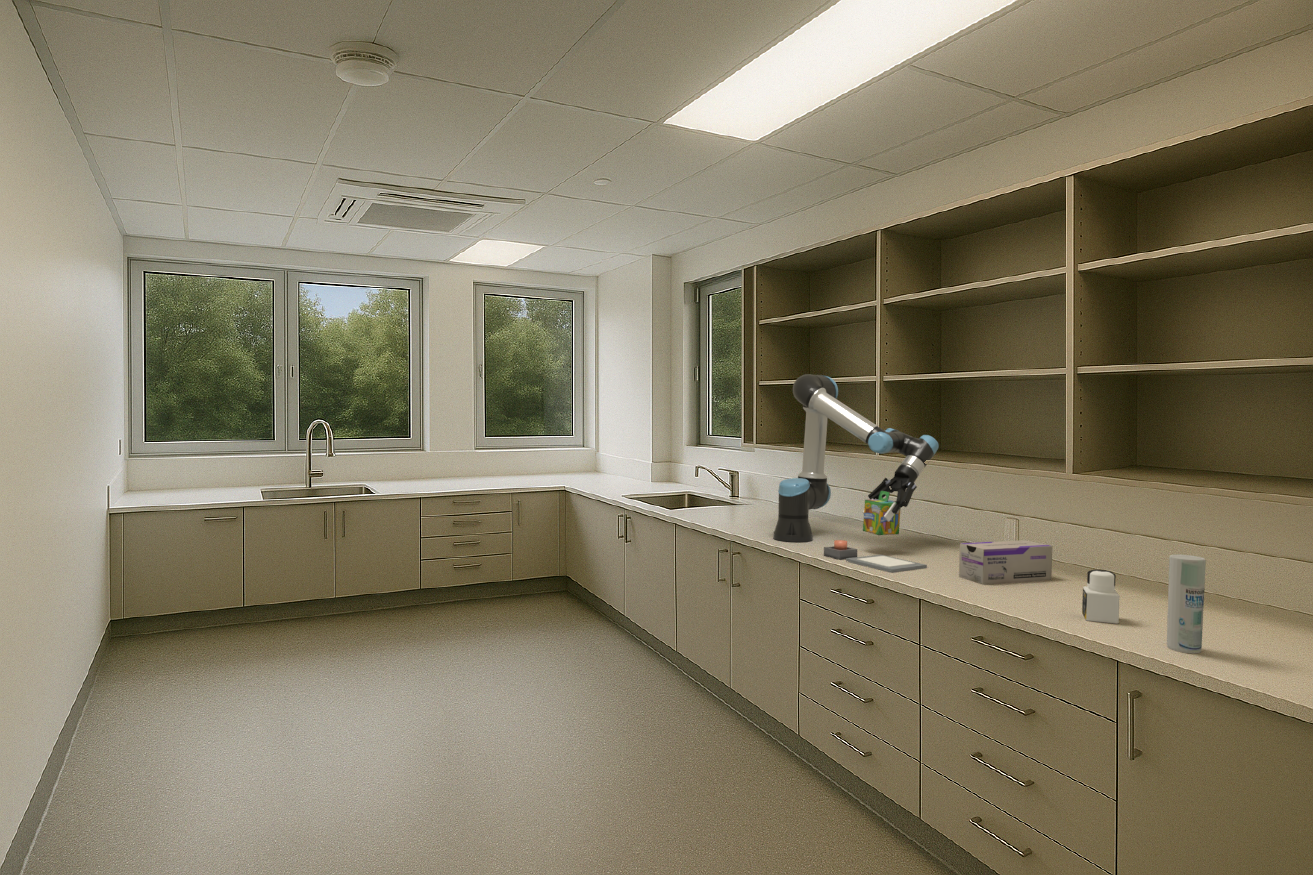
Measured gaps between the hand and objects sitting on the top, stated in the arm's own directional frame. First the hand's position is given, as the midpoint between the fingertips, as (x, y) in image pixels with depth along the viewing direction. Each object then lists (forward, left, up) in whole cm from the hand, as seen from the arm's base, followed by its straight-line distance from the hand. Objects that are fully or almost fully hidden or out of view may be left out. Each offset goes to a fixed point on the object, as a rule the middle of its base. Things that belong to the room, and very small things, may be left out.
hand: (875, 516), depth 275 cm
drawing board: (+15, -10, -13) cm, 22 cm away
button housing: (-2, -14, -13) cm, 20 cm away
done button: (-2, -14, -11) cm, 18 cm away
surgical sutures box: (+47, +7, -14) cm, 49 cm away
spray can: (+111, -21, -14) cm, 114 cm away
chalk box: (0, +3, -6) cm, 7 cm away
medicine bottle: (+88, -13, -14) cm, 90 cm away
